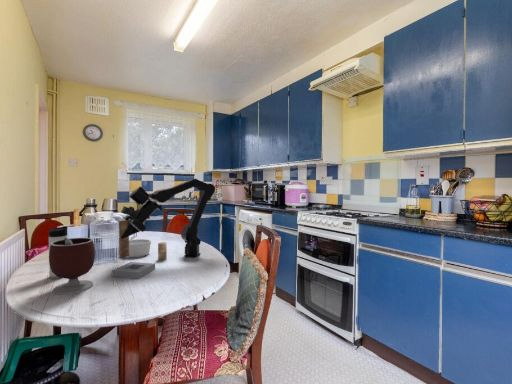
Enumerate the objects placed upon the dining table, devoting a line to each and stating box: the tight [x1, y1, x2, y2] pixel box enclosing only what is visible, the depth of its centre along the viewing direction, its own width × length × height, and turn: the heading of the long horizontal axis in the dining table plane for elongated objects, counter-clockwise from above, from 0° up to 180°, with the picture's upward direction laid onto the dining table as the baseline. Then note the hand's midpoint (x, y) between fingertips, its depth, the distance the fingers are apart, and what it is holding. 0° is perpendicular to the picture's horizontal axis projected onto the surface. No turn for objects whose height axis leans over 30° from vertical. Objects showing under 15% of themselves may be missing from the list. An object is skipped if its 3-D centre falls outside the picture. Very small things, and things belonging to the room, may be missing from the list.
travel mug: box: [48, 225, 69, 280], centre depth 112 cm, size 6×7×20 cm
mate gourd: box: [48, 237, 96, 296], centre depth 100 cm, size 16×14×20 cm
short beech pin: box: [157, 241, 168, 261], centre depth 138 cm, size 4×4×8 cm
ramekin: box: [128, 238, 152, 258], centre depth 146 cm, size 13×13×7 cm
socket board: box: [111, 261, 156, 279], centre depth 118 cm, size 12×12×2 cm
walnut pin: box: [118, 219, 130, 258], centre depth 125 cm, size 4×4×16 cm
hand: (120, 237), depth 124 cm, fingers closed on walnut pin, 4 cm apart
